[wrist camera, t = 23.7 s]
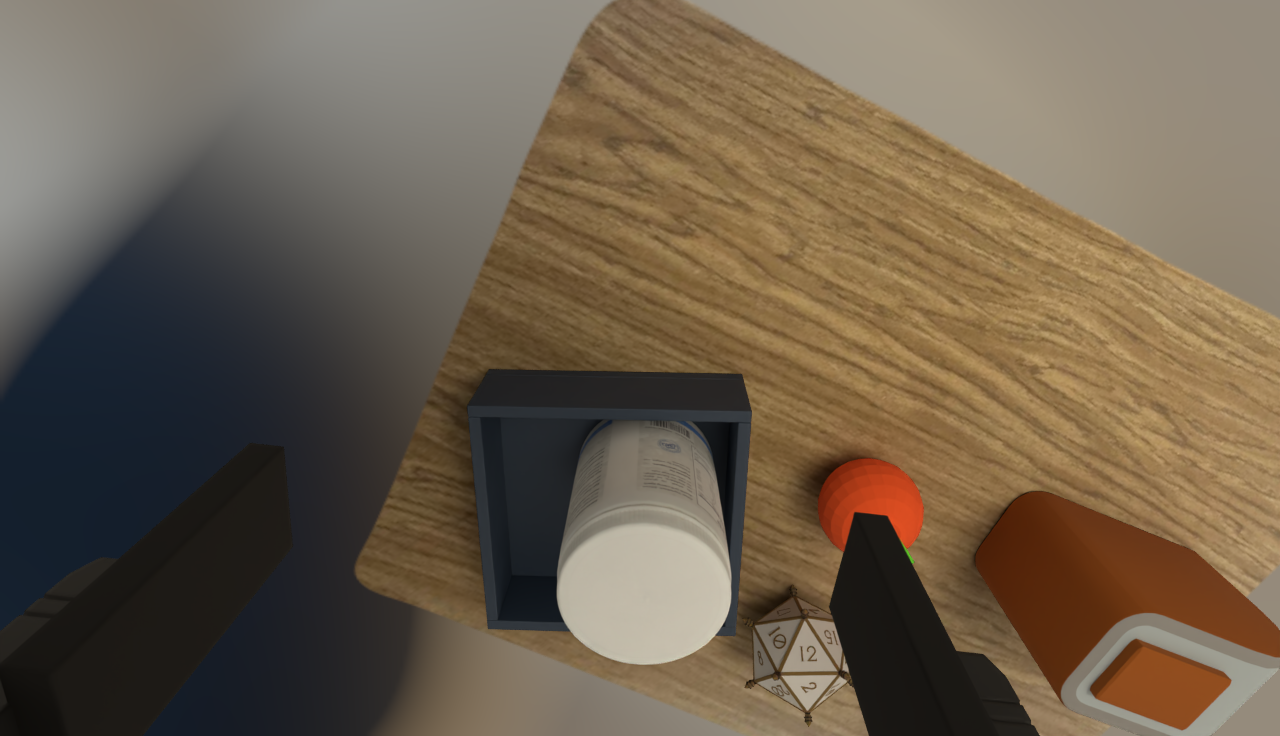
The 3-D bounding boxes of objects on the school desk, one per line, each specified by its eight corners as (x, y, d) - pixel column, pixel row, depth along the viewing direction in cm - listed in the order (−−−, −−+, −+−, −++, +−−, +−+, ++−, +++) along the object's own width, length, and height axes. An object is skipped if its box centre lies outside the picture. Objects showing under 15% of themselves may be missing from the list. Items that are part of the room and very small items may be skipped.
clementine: (932, 495, 52) (971, 555, 46) (855, 547, 54) (881, 612, 48) (867, 422, 50) (898, 474, 44) (789, 479, 52) (807, 537, 46)
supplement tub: (611, 532, 53) (593, 689, 40) (557, 427, 50) (518, 558, 36) (734, 492, 52) (759, 641, 38) (686, 380, 48) (695, 499, 35)
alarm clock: (961, 569, 55) (1049, 716, 42) (1025, 481, 52) (1141, 612, 39) (1124, 631, 56) (1255, 790, 44) (1195, 550, 53) (1358, 696, 41)
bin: (488, 368, 50) (466, 405, 44) (742, 373, 49) (752, 411, 44) (505, 574, 56) (487, 629, 51) (728, 580, 56) (735, 636, 50)
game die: (793, 601, 61) (808, 733, 56) (714, 589, 57) (722, 729, 52) (874, 579, 54) (899, 725, 49) (792, 563, 50) (810, 720, 45)
